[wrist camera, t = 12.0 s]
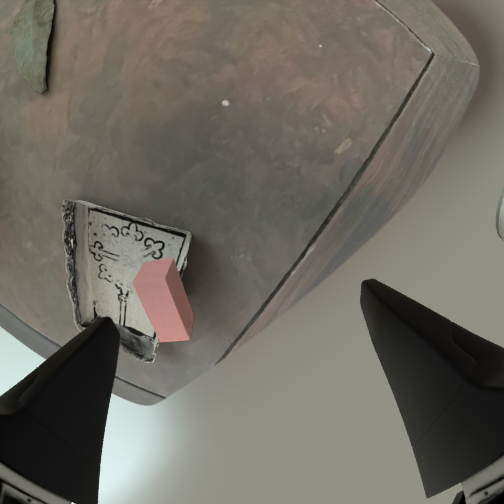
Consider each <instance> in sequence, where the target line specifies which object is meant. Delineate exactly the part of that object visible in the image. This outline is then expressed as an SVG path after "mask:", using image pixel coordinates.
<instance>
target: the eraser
mask: <svg viewBox="0 0 504 504" xmlns="http://www.w3.org/2000/svg"><path fill="white" fill-rule="evenodd" d="M132 284H133V286H134V288H135V291H136V293H137V295H138V297H139V300H140V302H141V304H142V306H143V308H144V310H145V312H146V314H147V317H148V319H149V321H150V323H151V325H152V327H153V329H154V331H155V333H156V335H157V336H158V338H159V340H160V342H172V341H185V340H190V338H191V333H192V327H193V322H194V314H193V312H192V309H191V306H190V303H189V301H188V298H187V295H186V292H185V290H184V287H183V284H182V281H181V278H180V275H179V272H178V269H177V266H176V263H175V260H174V258H167V259H161V260H155V261H149V262H144V263H143V264H142V266H141V268H140V269H139V271H138V273H137V275H136V276H135V278H134V280H133V282H132Z"/></svg>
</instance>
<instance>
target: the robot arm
mask: <svg viewBox="0 0 504 504" xmlns="http://www.w3.org/2000/svg"><path fill="white" fill-rule="evenodd" d="M360 304H361V308H362V311H363V314H364V317H365V320H366V324H367V327H368V330H369V334H370V337H371V340H372V343H373V345H374V348H375V351H376V353H377V355H378V358H379V360H380V362H381V365H382V367H383V370H384V372H385V374H386V377H387V379H388V382H389V384H390V387H391V389H392V392H393V394H394V397H395V400H396V402H397V405H398V408H399V411H400V413H401V416H402V419H403V422H404V424H405V427H406V430H407V433H408V436H409V439H410V442H411V445H412V447H413V452H414V455H415V458H416V461H417V465H418V468H419V472H420V475H421V479H422V482H423V486H424V490H425V494H426V497H427V498H430V497H432V496H434V495H436V494H439V493H441V492H443V491H444V490H447V489H449V488H451V487H453V486H455V485H457V484H458V483H460V482H461V484H462V487H463V490H462V491H460V492H459V493H457V495H456V497H455V499H454V501H453V503H452V504H504V348H503V347H501V346H499V345H496V344H494V343H492V342H490V341H488V340H486V339H484V338H482V337H480V336H478V335H476V334H474V333H472V332H470V331H468V330H466V329H465V328H463V327H461V326H459V325H457V324H456V323H454V322H451V321H450V320H449V319H447V318H445V317H443V316H441V315H440V314H438V313H436V312H434V311H433V310H431V309H429V308H427V307H425V306H424V305H422V304H420V303H418V302H416V301H415V300H413V299H411V298H409V297H407V296H405V295H403V294H402V293H400V292H398V291H396V290H394V289H392V288H391V287H389V286H387V285H385V284H383V283H381V282H379V281H377V280H375V279H369V280H364V281H363V282H362V284H361V297H360ZM120 339H121V336H120V332H119V330H118V328H117V327H116V325H115V323H114V322H113V320H112V318H111V317H109V316H106V317H100V318H98V319H97V320H96V321H95V322H93V323H92V324H91V325H89V326H88V327H87V328H86V329H84V330H83V331H82V332H80V333H79V334H78V335H77V336H75V337H74V338H73V339H72V340H70V341H69V342H68V343H67V344H65V345H64V346H63V347H62V348H60V349H59V350H58V351H57V352H55V353H54V354H53V355H52V356H51V357H49V358H48V359H47V360H46V361H44V362H43V363H42V364H41V365H40V366H39V367H37V368H36V369H35V370H34V371H32V372H31V373H30V374H29V375H28V376H26V377H25V378H24V379H23V380H21V381H20V382H19V383H17V384H16V385H15V386H13V387H12V388H11V389H9V390H8V391H7V392H5V393H4V394H3V395H1V396H0V504H71V502H73V503H75V504H98V489H99V476H100V463H101V455H102V446H103V439H104V432H105V426H106V420H107V414H108V408H109V403H110V398H111V393H112V388H113V383H114V379H115V374H116V367H117V360H118V353H119V346H120Z"/></svg>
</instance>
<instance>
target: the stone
mask: <svg viewBox="0 0 504 504" xmlns="http://www.w3.org/2000/svg"><path fill="white" fill-rule="evenodd" d="M53 1H54V0H26V1H25V3H24V5H23V7H22V9H21V11H20V13H19V14H18V15H17V16H16V17H15V19H14V23H13V40H14V52H15V59H16V63H17V67H18V70H19V72H20V75H21V76H23V78H24V79H26V80H27V81H28V82H29V84H30V87H31V88H33V89H34V91H36V92H39V93H43V92H44V91H45V90H47V86H46V80H45V78H46V61H47V55H46V51H47V42H48V39H49V35H50V31H51V26H52V19H53V12H54V6H55V5H54V4H53Z"/></svg>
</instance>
